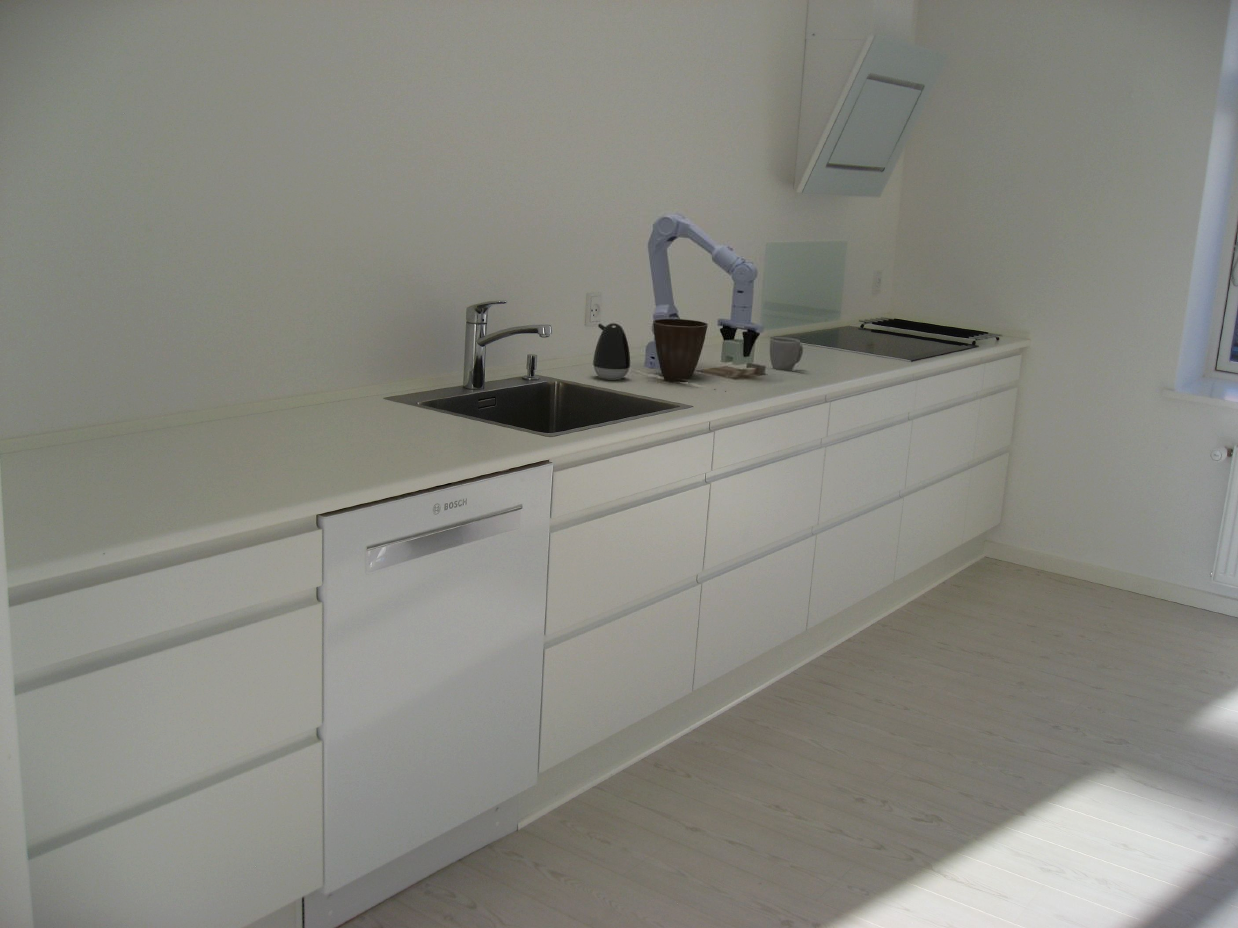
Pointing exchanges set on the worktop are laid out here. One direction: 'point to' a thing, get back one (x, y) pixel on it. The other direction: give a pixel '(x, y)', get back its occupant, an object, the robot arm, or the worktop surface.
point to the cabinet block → (736, 352)
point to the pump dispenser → (611, 353)
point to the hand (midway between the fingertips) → (737, 354)
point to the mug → (785, 353)
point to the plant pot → (678, 346)
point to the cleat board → (722, 372)
